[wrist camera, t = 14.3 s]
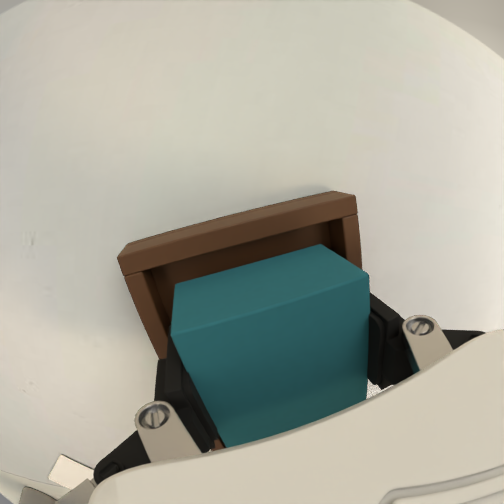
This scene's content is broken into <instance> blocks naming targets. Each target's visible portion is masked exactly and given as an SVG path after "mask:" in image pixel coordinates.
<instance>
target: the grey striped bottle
mask: <svg viewBox="0 0 504 504" xmlns="http://www.w3.org/2000/svg"><path fill="white" fill-rule="evenodd" d="M55 502H56V500H55V499H53V498H51V497H50V496H48V495H46V494H44V493H42V492H40V491H37V490H35V489H32V488H29V487H24V488H23V490H22V493H21V497H20V501H19V504H54V503H55Z"/></svg>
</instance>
